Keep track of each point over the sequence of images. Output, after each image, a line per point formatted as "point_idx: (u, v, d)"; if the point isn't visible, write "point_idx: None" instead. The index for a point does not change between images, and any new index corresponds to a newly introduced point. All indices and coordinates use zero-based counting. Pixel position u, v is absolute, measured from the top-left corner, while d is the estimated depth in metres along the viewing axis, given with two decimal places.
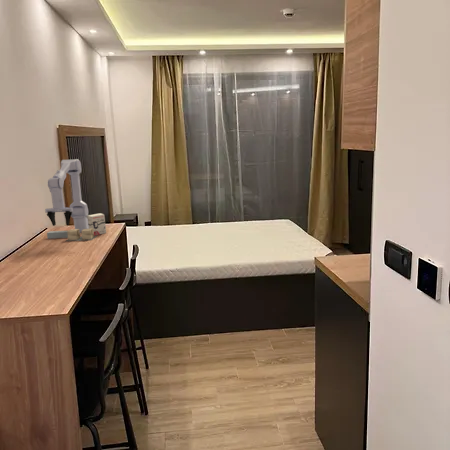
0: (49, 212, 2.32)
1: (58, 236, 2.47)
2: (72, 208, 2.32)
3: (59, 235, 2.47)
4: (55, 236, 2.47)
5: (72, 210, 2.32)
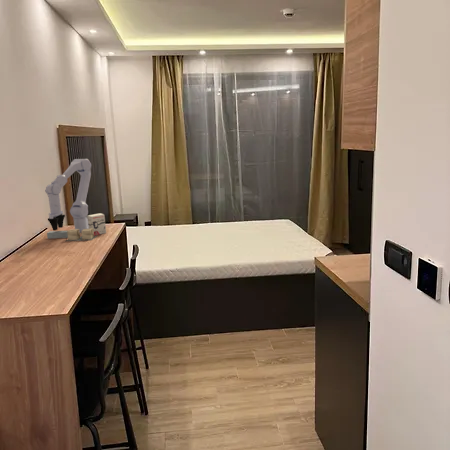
0: None
1: (58, 236, 2.47)
2: (51, 216, 2.39)
3: (59, 236, 2.47)
4: (55, 236, 2.47)
5: (51, 217, 2.40)
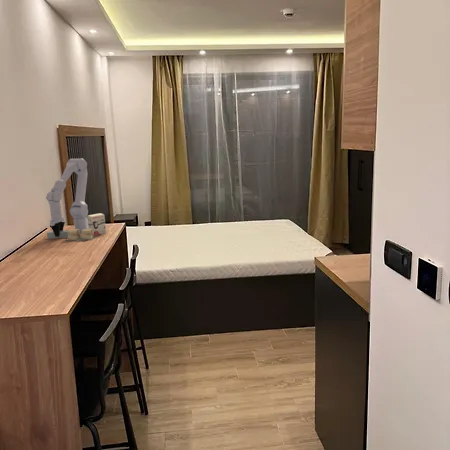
0: None
1: None
2: (52, 223, 2.40)
3: None
4: None
5: (52, 225, 2.41)
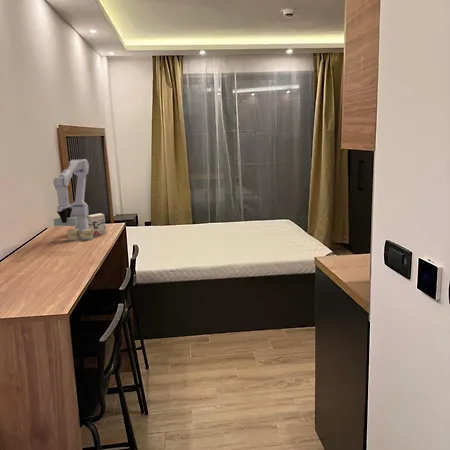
0: None
1: None
2: (59, 208, 2.36)
3: None
4: None
5: (59, 210, 2.36)
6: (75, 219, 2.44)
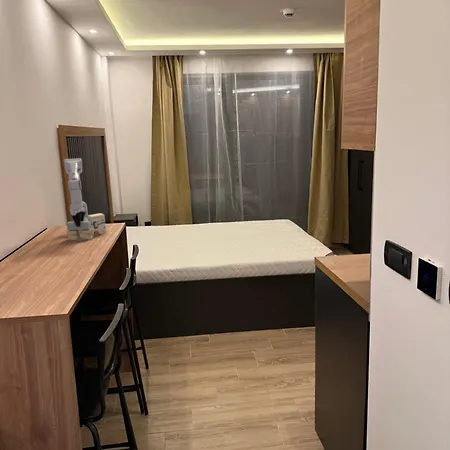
0: None
1: None
2: (73, 212, 2.33)
3: None
4: (75, 226, 2.40)
5: (73, 214, 2.33)
6: (89, 223, 2.40)
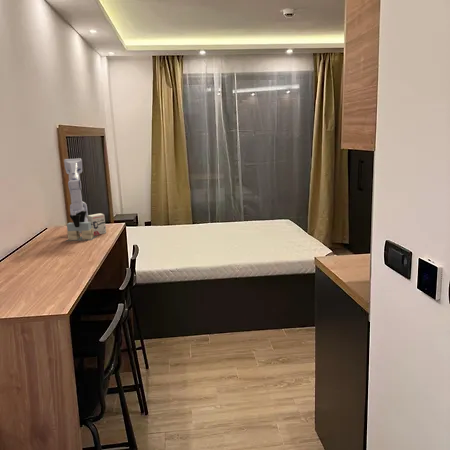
0: (80, 211, 2.45)
1: (78, 227, 2.40)
2: (73, 212, 2.33)
3: (79, 227, 2.40)
4: (75, 227, 2.40)
5: (73, 214, 2.33)
6: (89, 224, 2.41)
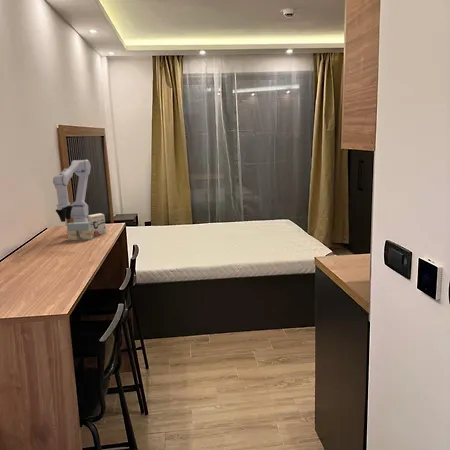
0: (66, 206, 2.49)
1: (78, 227, 2.40)
2: (59, 207, 2.37)
3: (79, 227, 2.40)
4: (75, 227, 2.40)
5: (59, 209, 2.37)
6: (89, 224, 2.41)
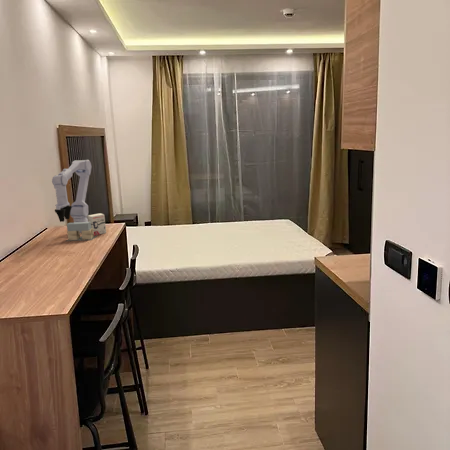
0: None
1: (78, 227, 2.40)
2: (58, 207, 2.37)
3: (79, 227, 2.40)
4: (75, 227, 2.40)
5: (58, 208, 2.37)
6: (89, 224, 2.41)
